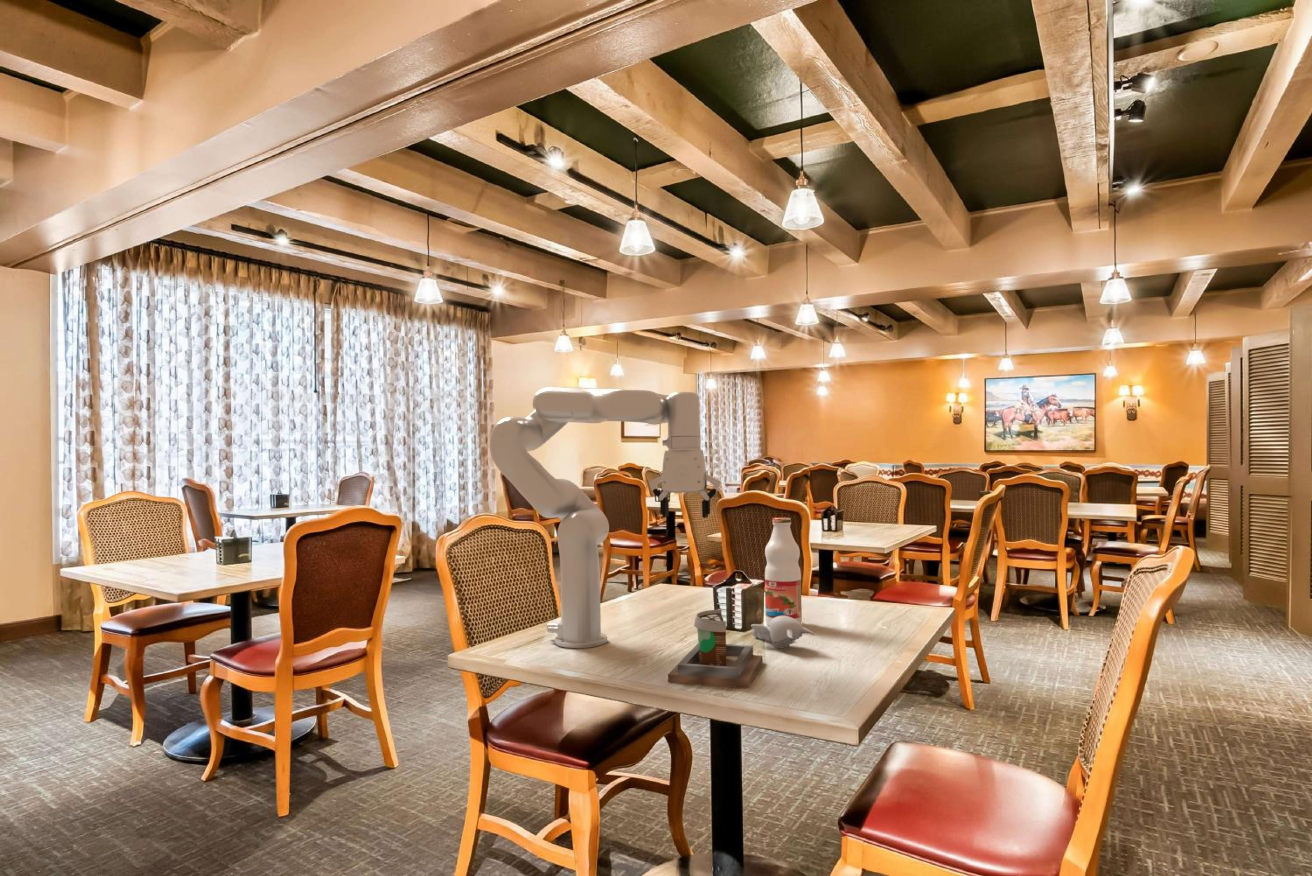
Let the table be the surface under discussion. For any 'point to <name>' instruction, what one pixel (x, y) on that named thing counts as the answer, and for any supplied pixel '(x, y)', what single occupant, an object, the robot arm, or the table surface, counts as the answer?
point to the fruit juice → (782, 573)
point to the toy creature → (780, 631)
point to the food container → (711, 637)
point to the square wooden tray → (719, 668)
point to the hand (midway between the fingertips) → (685, 517)
